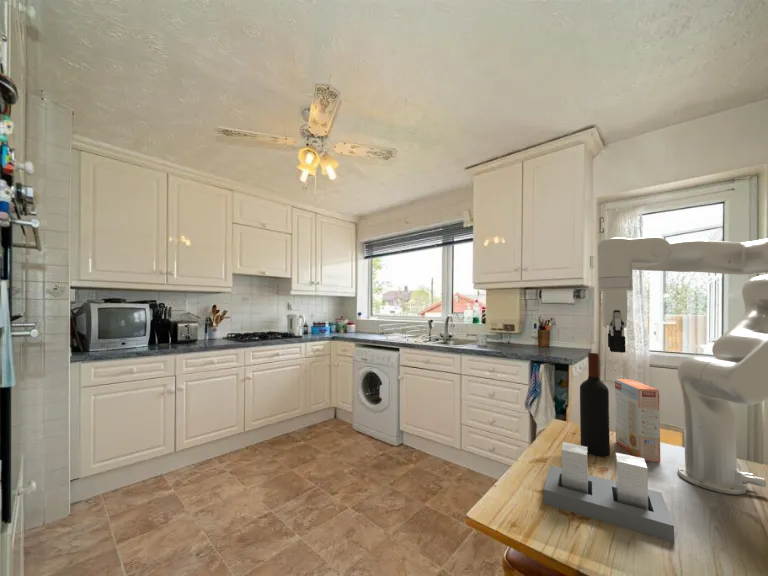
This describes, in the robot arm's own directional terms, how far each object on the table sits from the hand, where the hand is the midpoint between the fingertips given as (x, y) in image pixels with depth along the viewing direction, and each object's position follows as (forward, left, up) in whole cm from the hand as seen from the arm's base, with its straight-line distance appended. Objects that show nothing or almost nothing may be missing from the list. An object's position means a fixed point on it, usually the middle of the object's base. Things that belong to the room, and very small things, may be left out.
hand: (616, 349), depth 87 cm
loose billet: (-1, +17, -32) cm, 37 cm away
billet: (+9, +18, -32) cm, 38 cm away
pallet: (+4, +18, -33) cm, 38 cm away
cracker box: (-6, -23, -34) cm, 41 cm away
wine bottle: (+5, -16, -34) cm, 37 cm away
